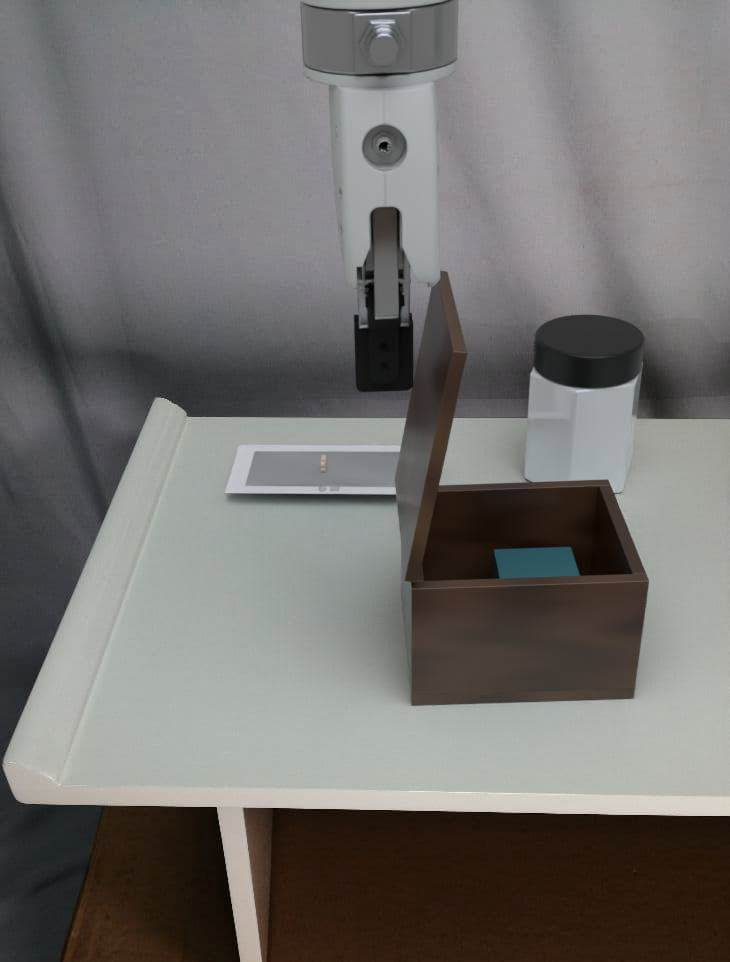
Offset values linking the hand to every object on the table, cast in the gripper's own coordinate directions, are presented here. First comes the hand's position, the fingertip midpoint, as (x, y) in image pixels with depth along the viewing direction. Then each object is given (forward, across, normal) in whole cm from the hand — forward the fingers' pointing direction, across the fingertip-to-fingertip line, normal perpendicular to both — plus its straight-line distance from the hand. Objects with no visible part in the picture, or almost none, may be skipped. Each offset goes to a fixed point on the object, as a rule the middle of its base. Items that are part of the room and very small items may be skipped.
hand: (384, 384), depth 67 cm
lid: (+3, 0, -3) cm, 4 cm away
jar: (+19, +22, -16) cm, 33 cm away
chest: (+19, 0, -8) cm, 21 cm away
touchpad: (+19, +22, +4) cm, 30 cm away
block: (+18, 0, -10) cm, 21 cm away
